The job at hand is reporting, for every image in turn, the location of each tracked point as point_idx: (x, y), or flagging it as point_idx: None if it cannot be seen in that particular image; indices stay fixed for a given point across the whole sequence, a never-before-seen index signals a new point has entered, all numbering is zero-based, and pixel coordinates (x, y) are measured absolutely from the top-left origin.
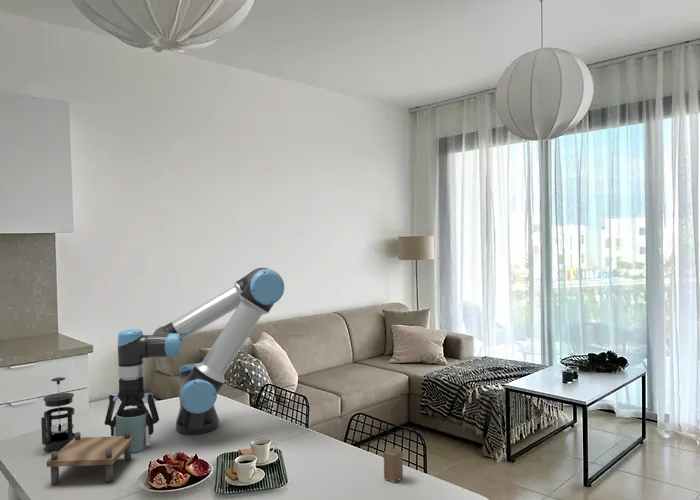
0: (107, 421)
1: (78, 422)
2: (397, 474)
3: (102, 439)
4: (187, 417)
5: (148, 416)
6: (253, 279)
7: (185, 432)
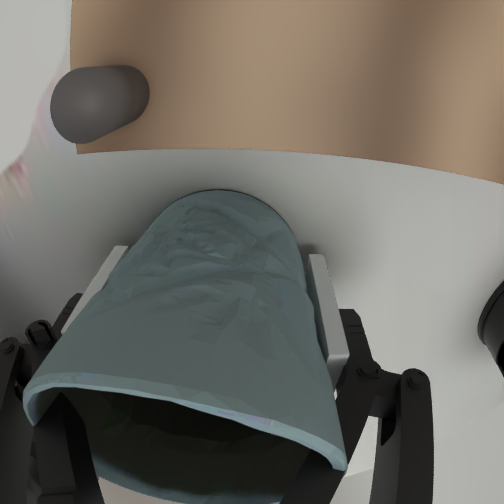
0: (410, 395)
1: (442, 433)
2: None
3: (410, 77)
4: None
5: None
6: None
7: None
